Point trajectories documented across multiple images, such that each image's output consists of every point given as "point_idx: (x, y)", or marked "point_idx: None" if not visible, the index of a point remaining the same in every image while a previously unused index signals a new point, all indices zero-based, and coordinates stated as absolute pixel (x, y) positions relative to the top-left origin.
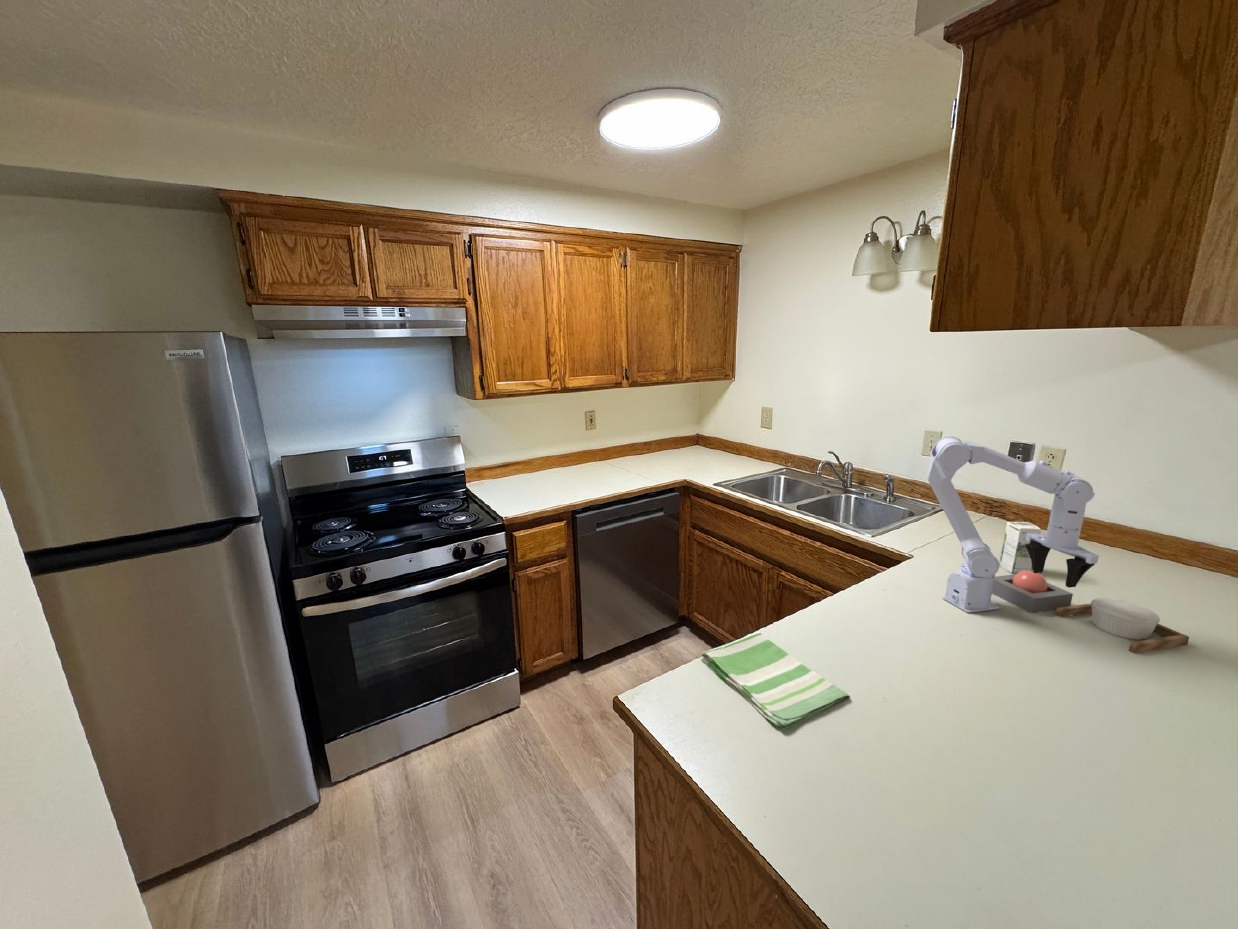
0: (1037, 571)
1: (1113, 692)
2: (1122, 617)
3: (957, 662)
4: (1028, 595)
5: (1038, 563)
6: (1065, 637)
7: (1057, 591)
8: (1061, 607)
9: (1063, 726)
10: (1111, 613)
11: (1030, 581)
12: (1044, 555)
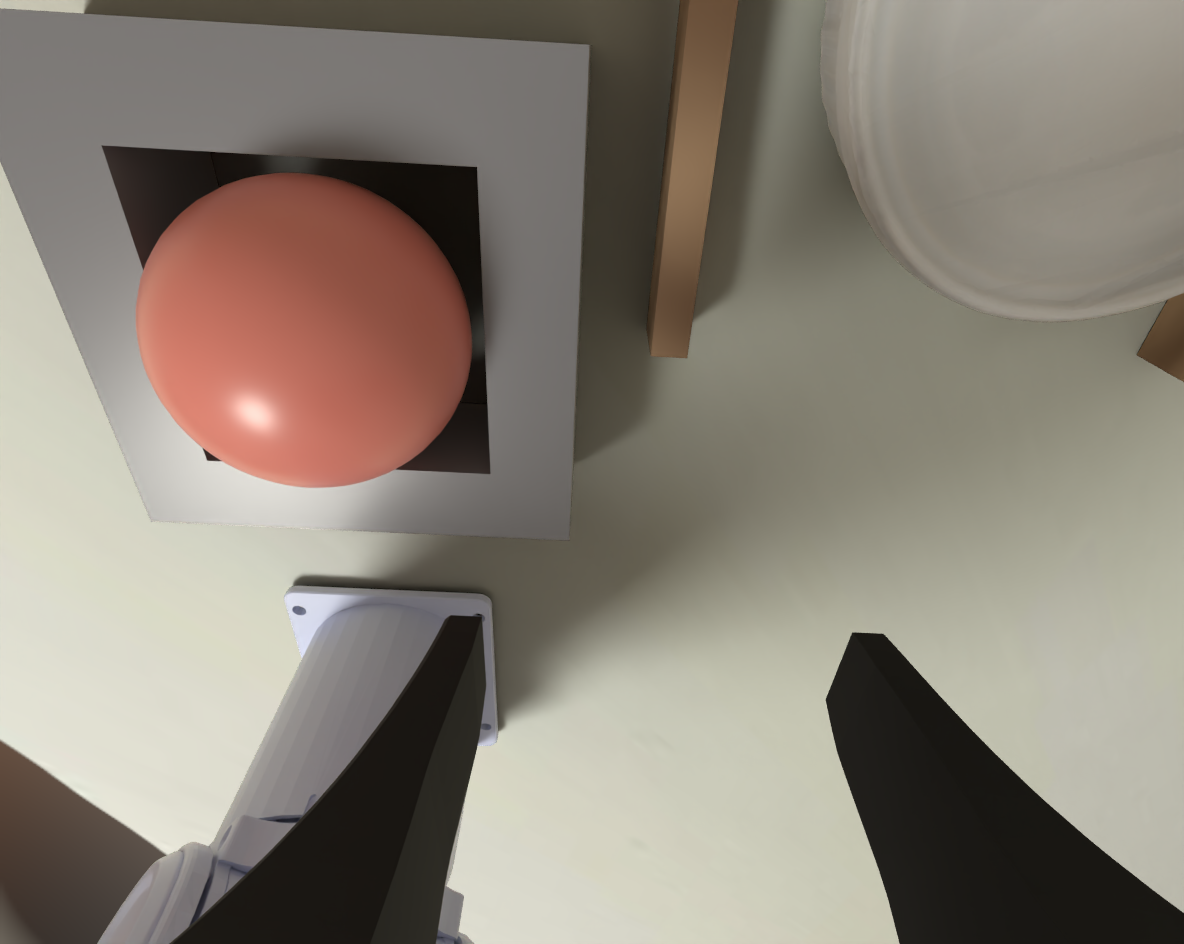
0: (482, 690)
1: (1133, 735)
2: (1167, 215)
3: (755, 923)
4: (517, 533)
5: (454, 792)
6: (844, 542)
7: (501, 189)
8: (658, 316)
9: None
10: (1072, 245)
11: (385, 468)
12: (413, 877)
